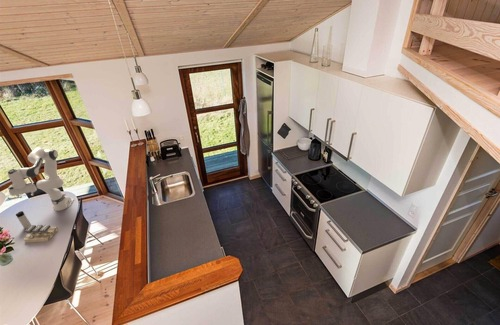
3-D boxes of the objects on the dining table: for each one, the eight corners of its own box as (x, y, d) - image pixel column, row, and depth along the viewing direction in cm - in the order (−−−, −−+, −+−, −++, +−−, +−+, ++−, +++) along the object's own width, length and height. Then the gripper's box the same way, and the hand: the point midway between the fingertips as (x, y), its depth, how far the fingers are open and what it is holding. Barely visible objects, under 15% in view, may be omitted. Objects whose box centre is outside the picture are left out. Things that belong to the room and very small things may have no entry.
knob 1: (33, 230, 252) (30, 225, 249) (38, 230, 253) (35, 225, 249) (28, 236, 246) (24, 231, 242) (32, 236, 246) (29, 230, 242)
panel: (36, 230, 258) (34, 227, 256) (58, 229, 259) (56, 226, 257) (25, 242, 244) (23, 239, 242) (48, 241, 245) (46, 238, 243)
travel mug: (27, 229, 259) (18, 215, 249) (22, 228, 261) (13, 214, 251) (33, 225, 265) (24, 211, 255) (28, 224, 266) (19, 210, 256)
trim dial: (32, 236, 245) (30, 234, 244) (35, 236, 245) (33, 234, 244) (30, 238, 243) (28, 236, 241) (33, 238, 243) (31, 236, 241)
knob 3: (47, 229, 253) (44, 224, 249) (52, 229, 253) (49, 224, 250) (42, 235, 246) (39, 230, 243) (47, 235, 246) (44, 230, 243)
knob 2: (40, 230, 253) (37, 224, 249) (45, 229, 253) (42, 224, 249) (35, 235, 246) (32, 230, 242) (40, 235, 246) (36, 230, 242)
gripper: (34, 180, 240) (40, 192, 246) (8, 185, 233) (15, 197, 239) (32, 184, 234) (38, 195, 241) (5, 188, 228) (12, 200, 234)
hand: (26, 196), depth 240 cm, fingers open, 8 cm apart
